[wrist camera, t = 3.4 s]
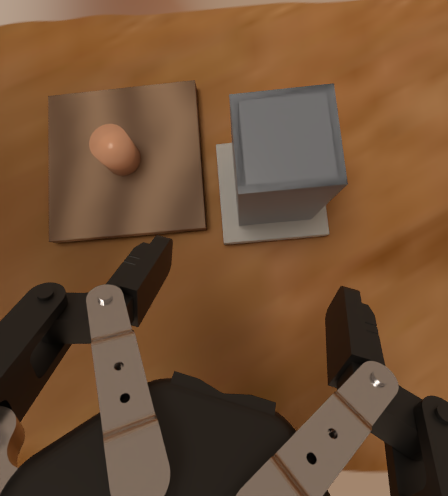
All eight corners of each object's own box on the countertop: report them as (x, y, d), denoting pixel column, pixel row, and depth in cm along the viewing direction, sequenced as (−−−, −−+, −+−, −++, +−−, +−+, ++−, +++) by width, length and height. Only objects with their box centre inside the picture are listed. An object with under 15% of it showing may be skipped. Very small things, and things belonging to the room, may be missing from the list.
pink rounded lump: (106, 177, 28) (89, 163, 24) (105, 144, 28) (88, 125, 25) (141, 174, 27) (128, 159, 24) (140, 140, 28) (127, 121, 25)
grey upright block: (238, 225, 26) (238, 194, 17) (232, 157, 27) (229, 94, 18) (310, 219, 26) (347, 184, 17) (302, 150, 27) (333, 83, 18)
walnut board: (55, 243, 28) (49, 241, 27) (54, 102, 30) (48, 96, 29) (206, 229, 28) (205, 227, 26) (196, 87, 29) (194, 80, 28)
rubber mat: (224, 244, 27) (223, 243, 26) (216, 149, 28) (216, 144, 27) (326, 235, 27) (329, 233, 26) (313, 139, 28) (316, 134, 27)
